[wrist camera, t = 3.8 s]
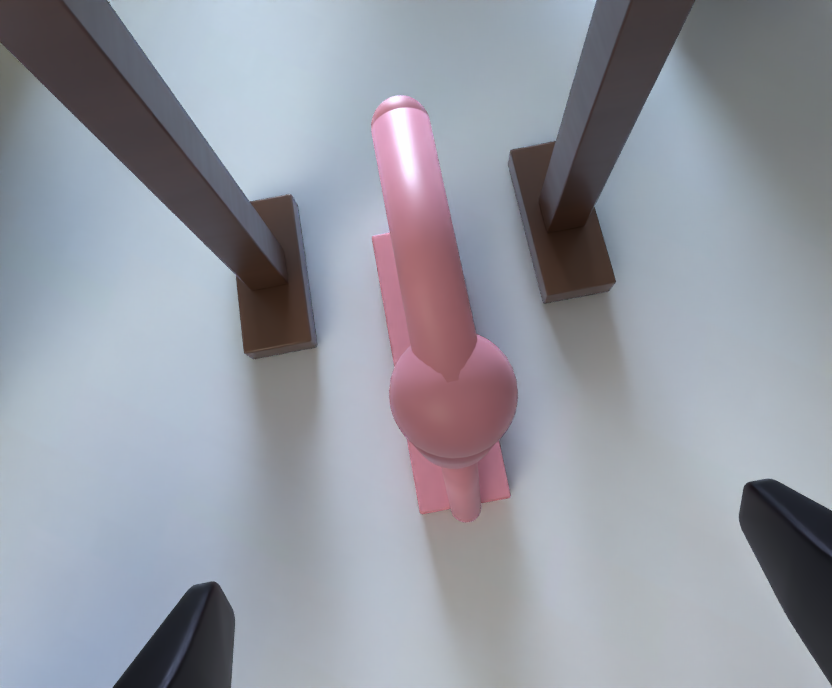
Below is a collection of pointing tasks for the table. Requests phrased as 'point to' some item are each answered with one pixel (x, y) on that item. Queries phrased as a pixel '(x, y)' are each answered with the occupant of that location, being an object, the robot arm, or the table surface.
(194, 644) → the robot arm
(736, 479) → the table surface
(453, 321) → the hanger
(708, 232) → the table surface
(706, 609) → the table surface
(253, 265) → the stand
